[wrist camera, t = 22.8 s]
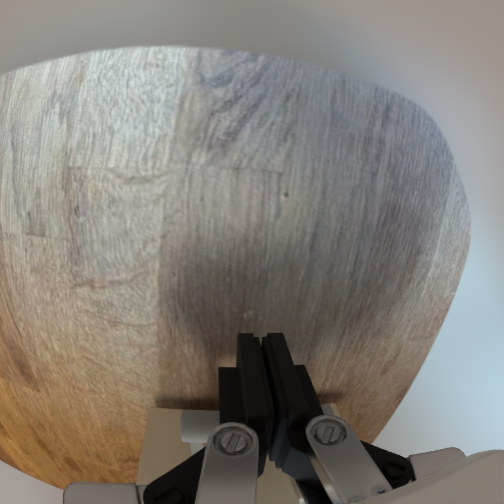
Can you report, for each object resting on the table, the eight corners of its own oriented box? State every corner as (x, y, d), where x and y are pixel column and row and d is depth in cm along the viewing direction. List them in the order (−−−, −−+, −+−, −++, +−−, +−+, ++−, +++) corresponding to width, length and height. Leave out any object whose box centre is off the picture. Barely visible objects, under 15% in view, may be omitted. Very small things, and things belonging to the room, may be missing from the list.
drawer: (135, 347, 13) (99, 457, 7) (353, 344, 14) (412, 437, 8) (177, 489, 19) (176, 547, 12) (298, 485, 20) (312, 541, 14)
